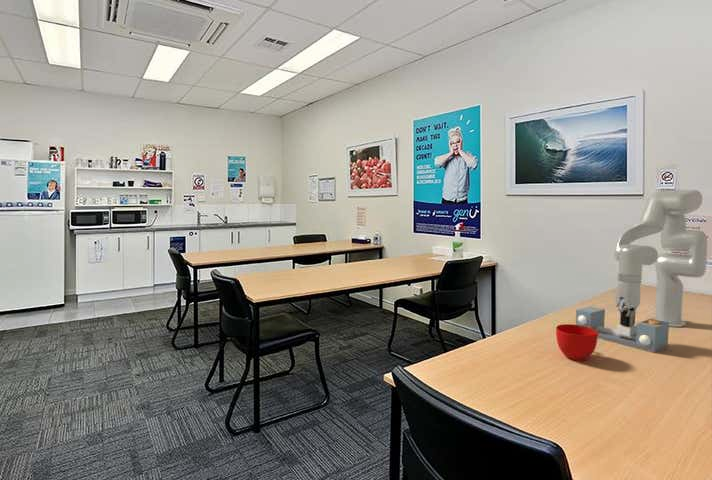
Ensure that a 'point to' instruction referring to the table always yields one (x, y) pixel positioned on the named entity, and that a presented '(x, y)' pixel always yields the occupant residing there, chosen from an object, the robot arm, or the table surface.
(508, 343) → the table surface
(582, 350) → the ceramic cup
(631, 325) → the carriage
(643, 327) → the rail bed
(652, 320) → the button
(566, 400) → the table surface
